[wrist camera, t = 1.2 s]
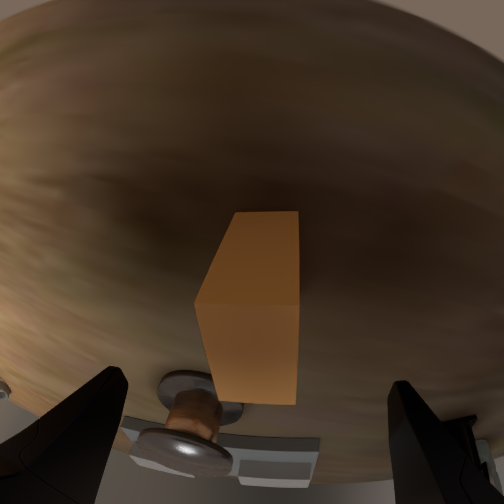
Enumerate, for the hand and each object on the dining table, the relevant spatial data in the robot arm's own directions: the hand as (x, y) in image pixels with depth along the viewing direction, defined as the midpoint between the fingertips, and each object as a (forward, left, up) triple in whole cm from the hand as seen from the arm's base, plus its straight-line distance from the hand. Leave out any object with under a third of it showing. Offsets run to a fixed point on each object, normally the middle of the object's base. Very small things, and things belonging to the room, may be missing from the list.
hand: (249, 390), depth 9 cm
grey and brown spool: (+6, +13, -8) cm, 16 cm away
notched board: (+6, +24, -8) cm, 26 cm away
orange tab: (0, 0, -8) cm, 8 cm away
